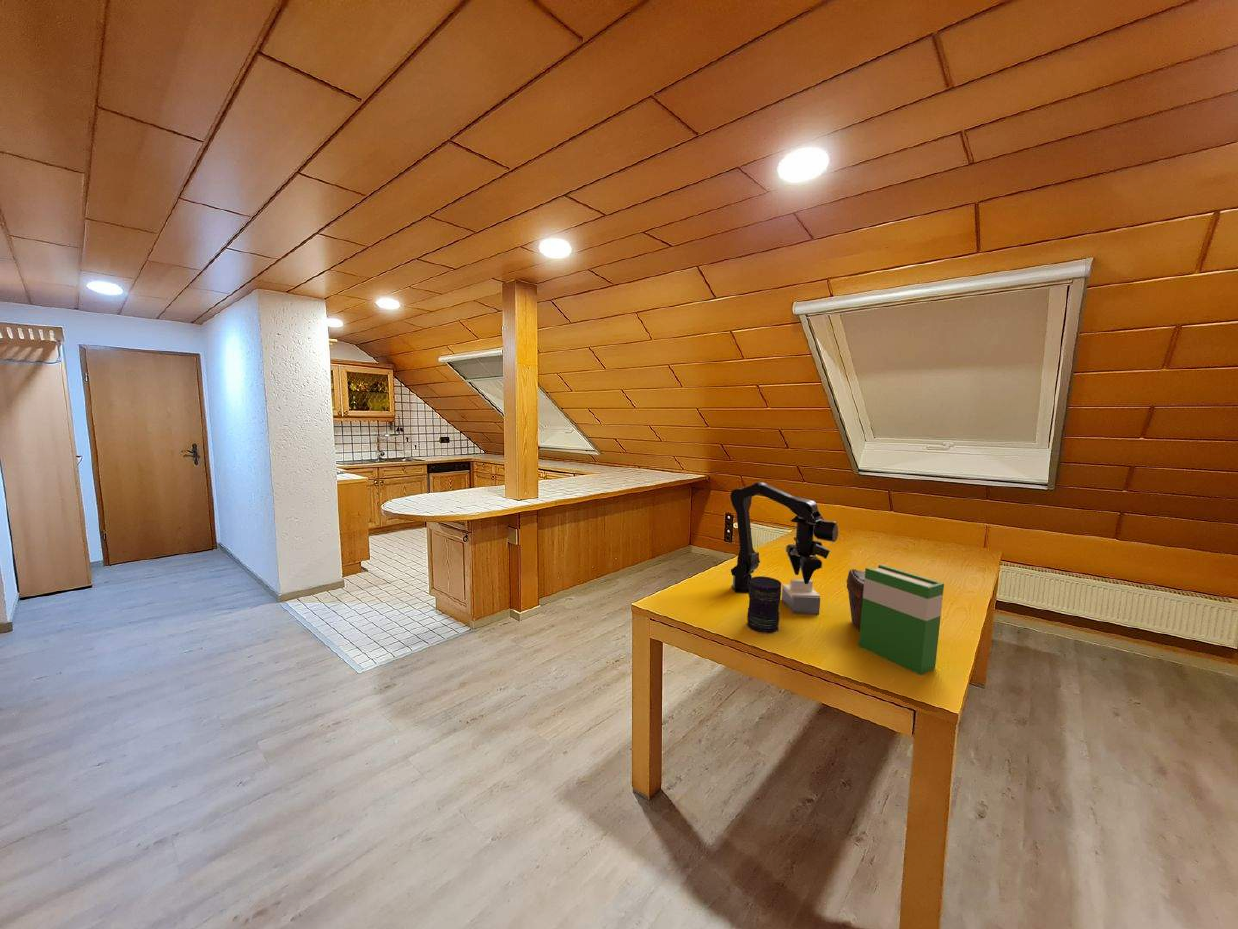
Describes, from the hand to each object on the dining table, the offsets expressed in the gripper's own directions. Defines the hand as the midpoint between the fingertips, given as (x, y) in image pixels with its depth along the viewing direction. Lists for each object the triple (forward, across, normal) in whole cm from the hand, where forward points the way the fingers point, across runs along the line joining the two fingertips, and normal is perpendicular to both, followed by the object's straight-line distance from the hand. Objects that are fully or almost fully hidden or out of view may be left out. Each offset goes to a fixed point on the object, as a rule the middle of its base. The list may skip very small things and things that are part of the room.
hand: (801, 579), depth 171 cm
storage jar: (+10, -17, +18) cm, 27 cm away
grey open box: (+10, 0, 0) cm, 10 cm away
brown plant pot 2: (+10, -15, -19) cm, 26 cm away
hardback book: (+10, -34, -15) cm, 39 cm away
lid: (+5, 0, 0) cm, 5 cm away
